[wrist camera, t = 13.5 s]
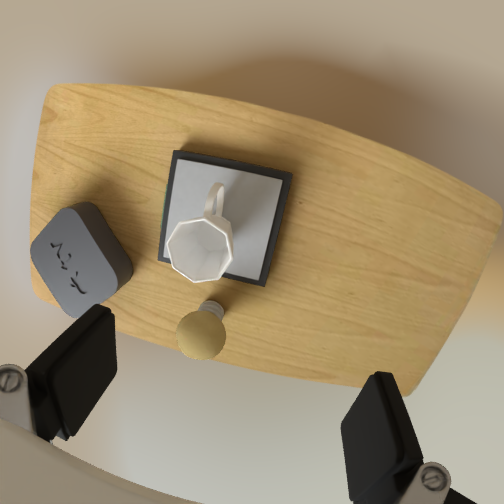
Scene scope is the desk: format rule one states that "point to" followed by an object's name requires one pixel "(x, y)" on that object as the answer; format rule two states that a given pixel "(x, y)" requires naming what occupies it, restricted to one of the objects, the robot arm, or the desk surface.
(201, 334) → the light bulb
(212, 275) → the cup
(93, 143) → the desk surface
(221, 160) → the scale
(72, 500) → the robot arm
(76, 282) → the streaming box
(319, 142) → the desk surface
